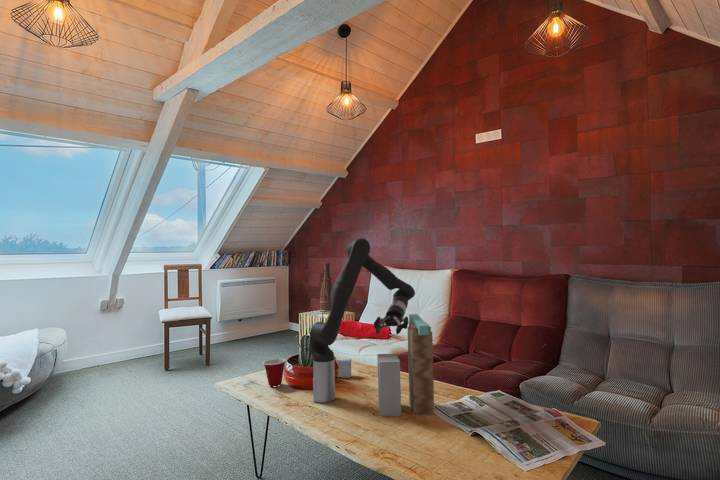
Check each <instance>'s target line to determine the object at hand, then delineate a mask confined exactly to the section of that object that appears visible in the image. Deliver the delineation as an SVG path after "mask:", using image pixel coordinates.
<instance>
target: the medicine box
mask: <svg viewBox="0 0 720 480" xmlns="http://www.w3.org/2000/svg"><path fill="white" fill-rule="evenodd" d="M336 359H337V362H338V366H339V377H341V378H342V379H343V378H345V379H346V378H351V377H352V358H336Z"/></svg>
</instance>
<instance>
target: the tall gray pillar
mask: <svg viewBox="0 0 720 480" xmlns="http://www.w3.org/2000/svg"><path fill="white" fill-rule="evenodd" d="M376 355H377V391H378V392H377V393H378V395H377V396H378V398H377V400H378V401H377V402H378V409H379V414H380V417H392V416H393V417H394V416H395V417H397V416H398V417H399V416H402V391H401V387H402V386H401V385H402V384H401V361H400V359H399V356H398V354H397V353H378V354H376Z"/></svg>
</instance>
